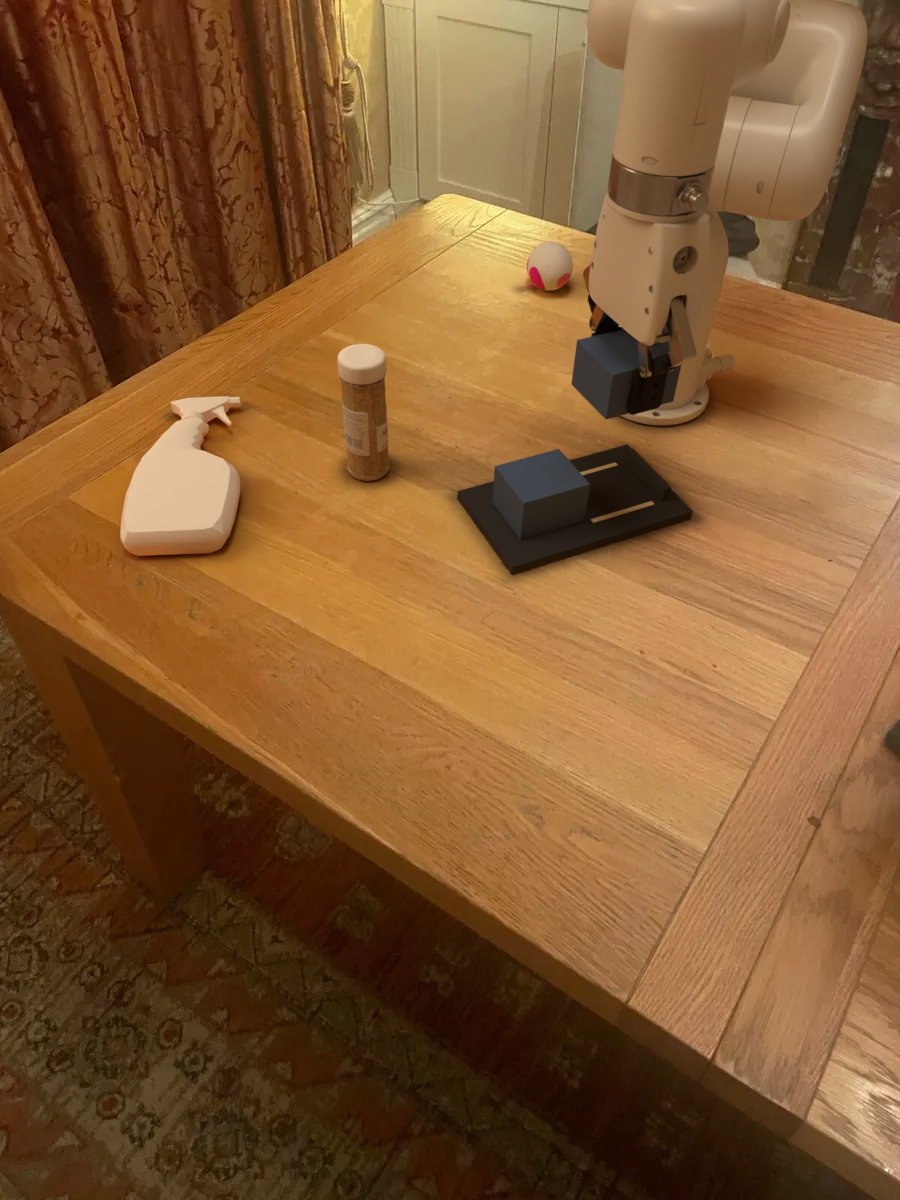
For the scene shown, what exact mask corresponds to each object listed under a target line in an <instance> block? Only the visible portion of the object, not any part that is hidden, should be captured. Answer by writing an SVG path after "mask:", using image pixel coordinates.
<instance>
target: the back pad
mask: <svg viewBox="0 0 900 1200" xmlns="http://www.w3.org/2000/svg"><path fill="white" fill-rule="evenodd" d="M660 355H661V343H660V344H656V345H652V359H654V358H656V357H658V356H660ZM573 361H574V362H573V368H572V369H573V370H572V377H571V386H572V387H573V388H574V389H575V390H576V391H577V392H578V393H579V394H580V395H581V396H582V397H583V398H584V399H585V400H586V401H587V402H588V403H589V404H590V406H592V407H593V408H594V409H595V411H596V412H598V413H599V415H601V416H602V417H603V418H604V419H605V420H610V419H614V418H617V417H621V415H625V414H629V412H628V411H627V405H628V400H629V394H630V389H631V384H632V378H633V373H634V372H637V371H639V358H638V340H636V339H635V338H634V337H633V336H631V335H630V334H629V333H628V332H627V331H625V330H624V329H622V330H618V331H613V332H609V333H605V334H601V335H596V336H592V337H591V336H588V337H584V338H580V339H577V340H576V346H575V353H574V360H573ZM680 369H681V366H679V367H677V368H675V369H674V370H673V371H670V372H668V375H667V379H666V384H665V389H664V393H663V398H662V403H661V405H662V404H666V403H670V402H673V400H674V396H675V391H676V387H677V383H678V378H679V374H680Z"/></svg>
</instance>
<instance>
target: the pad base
mask: <svg viewBox="0 0 900 1200" xmlns="http://www.w3.org/2000/svg"><path fill="white" fill-rule="evenodd" d="M493 474H494V475H493V481H488V482H485V483H482V484H478V485H475V486H471V487H467V488H464V489H461V490H457V500H458V502H459V504H460V505H461V506H462V507H463V508H464V510H465V512H466V513H467V515H468V516H469V517H470V518H471V520H472V521H473V523H474V524H475V526H476V527H477V528H478V530H479V531H480V532H481V534H482V535H483V536H484V538H485V539H486V541H487V542H488V545H490V546H491V548H492V549H493V551H494V552H495V553H496V555H497V556H498V558H499V559H500V561H501V562H502V563H503V565H504V566H505V568H506V569H507V570H508V572H509V573H510V575H515V574H518V573H523V572H525V571H528V570H531V569H534V568H537V567H538V568H539V567H541V566H544V565H547V564H550V563H553V562H556V561H560V560H563V559H566V558H570V557H573V556H576V555H579V554H582V553H586V552H589V551H591V550H595V549H599V548H602V547H604V546H605V547H606V546H609V545H612V544H614V543H618V542H620V541H621V542H622V541H624V540H627V539H630V538H634V537H636V536H639V535H643V534H646V533H650V532H652V531H656V530H660V529H663V528H665V527H668V526H672V525H675V524H679V523H681V522H684V521H688V520H691V519H692V516H693V512H694V511H693V509H691V508H690V506H689V505H688V504H687V503H686V502H685V501H684V500H683V499H682V498H681V497H680V496H679V495H678V494H677V493H676V492H675V491H674V490H673V489H672V486H671V485H669V483H667V481H666V480H665V479H664V478H663V477H662V476H661V475H660V474H659V473H658V472H657V471H656V470H655V469H654V468H653V467H652V466H651V465H650V464H649V463H648V461H646V460H645V459H644V457H642V456H641V455H640V454H639V453H638V452H637V450H635V448H632V446H630V445H629V444H627V443H626V444H624V445H623V444H622V445H620V446H616V447H612V448H608V449H604V450H601V451H597V452H593V453H591V454H587V455H583V456H581V457H580V456H579V457H576V458H573V459H568V457H567V456H566V455H565V454H564V452H562V451H561V450H560V448H556V449H552V450H549V451H546V452H541V453H539V454H534V455H530V456H527V457H523V458H520V459H519V458H518V459H516V460H512V461H509V462H504V463H500V464H497V465H494V472H493Z"/></svg>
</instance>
